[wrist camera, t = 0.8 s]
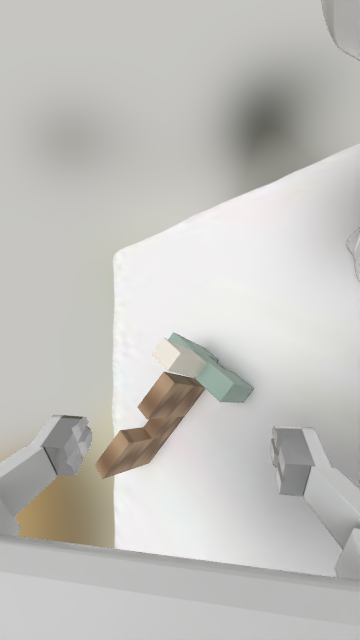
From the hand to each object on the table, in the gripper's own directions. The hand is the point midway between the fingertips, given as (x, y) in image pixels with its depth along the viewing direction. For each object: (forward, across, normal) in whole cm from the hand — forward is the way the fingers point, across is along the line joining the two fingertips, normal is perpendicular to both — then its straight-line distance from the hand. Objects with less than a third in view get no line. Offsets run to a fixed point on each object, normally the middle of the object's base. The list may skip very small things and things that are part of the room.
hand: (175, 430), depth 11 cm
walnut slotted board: (+25, +6, +29) cm, 39 cm away
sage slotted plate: (+29, -3, +20) cm, 36 cm away
